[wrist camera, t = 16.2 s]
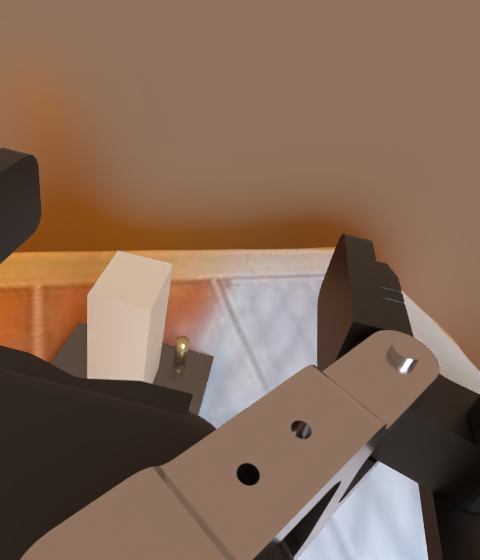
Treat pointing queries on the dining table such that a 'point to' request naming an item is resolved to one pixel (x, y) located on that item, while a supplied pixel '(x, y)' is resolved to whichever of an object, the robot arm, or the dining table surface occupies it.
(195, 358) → the chassis plate
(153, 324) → the cream block
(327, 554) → the dining table surface
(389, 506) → the dining table surface
